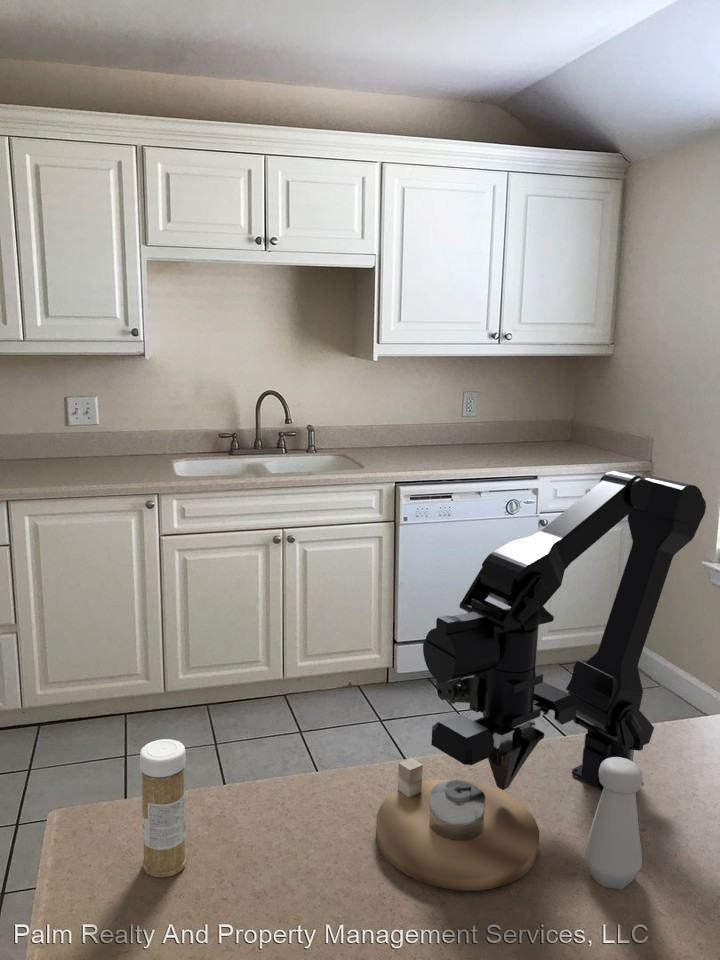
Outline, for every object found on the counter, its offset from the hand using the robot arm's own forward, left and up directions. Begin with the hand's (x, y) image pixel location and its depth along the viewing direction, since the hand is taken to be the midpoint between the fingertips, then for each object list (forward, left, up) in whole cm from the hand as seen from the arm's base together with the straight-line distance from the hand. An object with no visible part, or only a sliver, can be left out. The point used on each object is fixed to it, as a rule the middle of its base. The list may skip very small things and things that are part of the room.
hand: (502, 787), depth 97 cm
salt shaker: (-2, +14, -4) cm, 15 cm away
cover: (+8, 0, -2) cm, 8 cm away
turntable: (+7, 0, -4) cm, 8 cm away
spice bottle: (+35, -15, -4) cm, 39 cm away
